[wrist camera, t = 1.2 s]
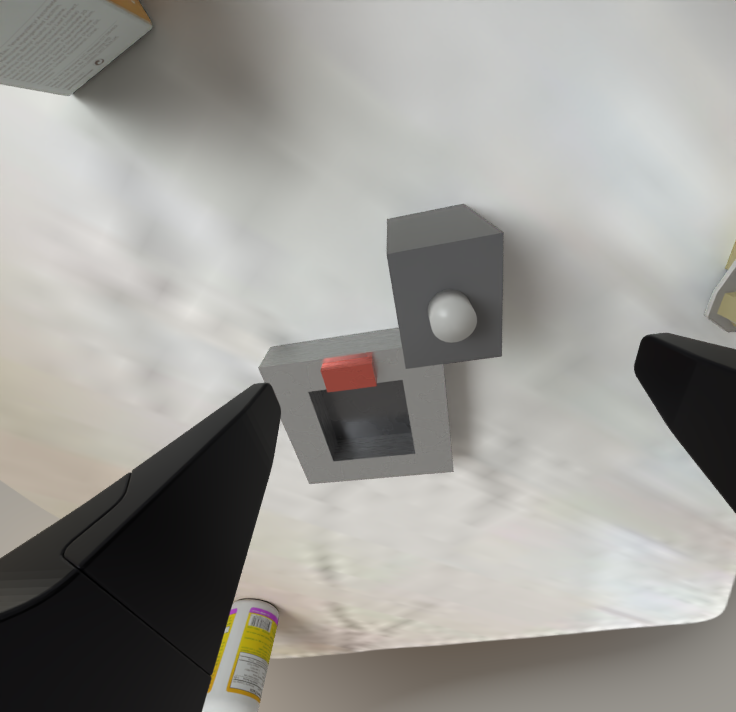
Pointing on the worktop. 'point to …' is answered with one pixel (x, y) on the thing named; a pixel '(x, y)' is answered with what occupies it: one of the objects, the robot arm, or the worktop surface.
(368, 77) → the worktop surface
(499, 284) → the plug
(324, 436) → the socket plate
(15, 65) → the small box
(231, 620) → the supplement bottle
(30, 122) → the worktop surface
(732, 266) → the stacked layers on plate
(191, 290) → the worktop surface
